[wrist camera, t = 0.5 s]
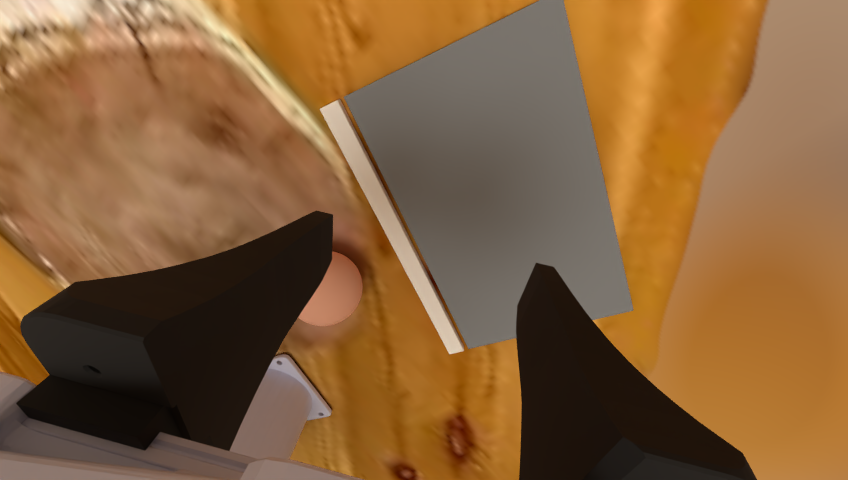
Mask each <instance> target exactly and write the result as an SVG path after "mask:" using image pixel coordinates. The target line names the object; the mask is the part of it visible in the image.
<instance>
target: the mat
mask: <svg viewBox="0 0 848 480" xmlns="http://www.w3.org/2000/svg"><path fill="white" fill-rule="evenodd" d="M344 98H345V100H346V102H347V105H348V107H349V109H350V111H351V113H352V115H353V117H354V119H355V121H356V123H357V125H358V127H359V129H360V131H361V133H362V135H363V137H364V139H365V141H366V143H367V145H368V147H369V149H370V151H371V153H372V155H373V157H374V159H375V161H376V163H377V165H378V167H379V169H380V171H381V173H382V175H383V177H384V179H385V181H386V183H387V185H388V187H389V189H390V191H391V193H392V195H393V197H394V199H395V201H396V203H397V205H398V207H399V209H400V211H401V213H402V215H403V217H404V219H405V222H406V224H407V226H408V228H409V230H410V232H411V234H412V236H413V238H414V240H415V242H416V244H417V246H418V248H419V250H420V252H421V254H422V256H423V258H424V260H425V262H426V264H427V266H428V268H429V270H430V272H431V274H432V276H433V278H434V280H435V282H436V284H437V286H438V288H439V290H440V292H441V294H442V296H443V298H444V300H445V302H446V304H447V306H448V308H449V310H450V312H451V314H452V316H453V318H454V320H455V322H456V324H457V326H458V328H459V330H460V332H461V334H462V336H463V338H464V341H465V343H466V345H467V347H468V349H470V348H475V347H479V346H483V345H488V344H492V343H496V342H500V341H505V340H509V339H513V338H516V318H517V305H518V302H519V300H520V298H521V296H522V293H523V291H524V289H525V286H526V284H527V282H528V280H529V277H530V275H531V273H532V271H533V268H534V266H535V264H536V263H540V264H544V265H548V266H552V267H554V268H555V269H556V270H557V272H558V273H559V275H560V276H561V278H562V279H563V281H564V282H565V283H566V285H567V286H568V288H569V289H570V291H571V292H572V294H573V295H574V296H575V298H576V299H577V301H578V302H579V303H580V305H581V306H582V308H583V309H584V310H585V312H586V313H587V314H588V315H589V317H590V318H591V319H592V320H595V319H599V318H603V317H608V316H612V315H616V314H620V313H625V312H629V311H633V306H632V301H631V297H630V293H629V288H628V284H627V279H626V275H625V271H624V266H623V262H622V257H621V253H620V248H619V244H618V240H617V235H616V231H615V226H614V222H613V217H612V213H611V209H610V204H609V200H608V195H607V191H606V187H605V182H604V178H603V173H602V169H601V164H600V160H599V156H598V151H597V147H596V142H595V138H594V134H593V129H592V125H591V120H590V116H589V111H588V107H587V103H586V98H585V94H584V89H583V85H582V80H581V76H580V72H579V67H578V63H577V58H576V54H575V50H574V45H573V41H572V36H571V32H570V27H569V23H568V19H567V14H566V10H565V5H564V1H563V0H539V1H537V2H535V3H533V4H531V5H529V6H527V7H525V8H523V9H521V10H519V11H517V12H515V13H513V14H511V15H509V16H507V17H505V18H503V19H501V20H499V21H497V22H495V23H493V24H491V25H489V26H487V27H485V28H483V29H481V30H479V31H477V32H475V33H473V34H471V35H468V36H466V37H464V38H462V39H460V40H458V41H456V42H454V43H452V44H450V45H448V46H446V47H444V48H442V49H440V50H438V51H436V52H434V53H432V54H430V55H428V56H426V57H424V58H422V59H420V60H418V61H416V62H414V63H412V64H410V65H408V66H406V67H404V68H402V69H400V70H397V71H395V72H393V73H391V74H389V75H387V76H385V77H383V78H381V79H379V80H377V81H375V82H373V83H371V84H369V85H367V86H365V87H363V88H361V89H359V90H357V91H355V92H353V93H351V94H349V95H347V96H345V97H344ZM320 111H321V113H322V114H323V116H324V118H325V120H326V122H327V124H328V126H329V128H330V130H331V131H332V133H333V135H334V137H335V139H336V141H337V143H338V145H339V147H340V148H341V150H342V152H343V154H344V156H345V158H346V160H347V162H348V164H349V165H350V167H351V169H352V171H353V173H354V175H355V177H356V179H357V181H358V182H359V184H360V186H361V188H362V190H363V192H364V194H365V196H366V198H367V199H368V201H369V203H370V205H371V207H372V209H373V211H374V213H375V215H376V216H377V218H378V220H379V222H380V224H381V226H382V228H383V230H384V232H385V233H386V235H387V237H388V239H389V241H390V243H391V245H392V247H393V248H394V250H395V252H396V254H397V256H398V258H399V260H400V262H401V264H402V265H403V267H404V269H405V271H406V273H407V275H408V277H409V279H410V281H411V282H412V284H413V286H414V288H415V290H416V292H417V294H418V296H419V298H420V299H421V301H422V303H423V305H424V307H425V309H426V311H427V313H428V315H429V316H430V318H431V320H432V322H433V324H434V326H435V328H436V330H437V332H438V333H439V335H440V337H441V339H442V341H443V343H444V345H445V347H446V349H447V350H448V352H449V354H453V353H457V352H462V351H464V345H463V343H462V341H461V339H460V337H459V335H458V334H457V332H456V330H455V328H454V326H453V324H452V322H451V320H450V318H449V316H448V314H447V312H446V310H445V308H444V306H443V304H442V302H441V300H440V298H439V296H438V294H437V292H436V290H435V288H434V286H433V284H432V282H431V280H430V278H429V276H428V274H427V272H426V270H425V268H424V266H423V264H422V262H421V260H420V258H419V256H418V254H417V252H416V250H415V248H414V246H413V244H412V242H411V240H410V238H409V236H408V234H407V232H406V230H405V228H404V226H403V224H402V222H401V220H400V218H399V216H398V214H397V212H396V210H395V208H394V206H393V204H392V202H391V200H390V198H389V196H388V194H387V192H386V190H385V188H384V186H383V184H382V182H381V180H380V178H379V176H378V174H377V172H376V170H375V168H374V166H373V164H372V162H371V160H370V158H369V156H368V154H367V152H366V150H365V148H364V146H363V144H362V142H361V140H360V138H359V136H358V134H357V132H356V130H355V128H354V126H353V124H352V122H351V120H350V118H349V116H348V114H347V112H346V110H345V108H344V106H343V104H342V102H341V100H340V99H339V100H337V101H335V102H332V103H330V104H328V105H326V106H324V107H322V108H320Z"/></svg>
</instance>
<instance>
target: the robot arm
mask: <svg viewBox="0 0 848 480" xmlns="http://www.w3.org/2000/svg"><path fill="white" fill-rule="evenodd" d="M332 237H333V215H332V214H328V213H324V212H320V211H315V212H312V213H310V214H308V215H306V216H304V217H302V218H300V219H298V220H296V221H294V222H292V223H290V224H288V225H286V226H284V227H282V228H279V229H277V230H275V231H273V232H271V233H269V234H267V235H264V236H262V237H260V238H258V239H255V240H253V241H251V242H248V243H246V244H244V245H241V246H238V247H236V248H233V249H230V250H228V251H225V252H222V253H219V254H216V255H213V256H209V257H206V258H203V259H199V260H195V261H191V262H187V263H184V264H180V265H176V266H172V267H168V268H163V269H158V270H154V271H148V272H143V273H137V274H132V275H126V276H119V277H111V278H104V279H96V280H89V281H80V282H75V283H73V284H72V285H70V286H69V287H67V288H66V289H64V290H63V291H61V292H60V293H58V294H57V295H55V296H54V297H52V298H51V299H49V300H48V301H46V302H45V303H43V304H42V305H40V306H39V307H37V308H36V309H34V310H33V311H31V312H30V313H28V314H27V315H25V316H24V317H23V319H22V321H21V332H22V336H23V337H24V339H25V341H26V343H27V344H28V346H29V347H30V348H31V350H32V351H33V352H34V354H35V355H36V357H37V358H38V359H39V361H40V362H41V363H42V365H43V366H44V368H45V369H46V370H47V372H48V373H49V374H50V375H49V376H48V377H47V378H46V379H45V380H43V381H42V382H41V383H40V384H39V385H37V386H36V385H35V384H34V383H32V382H30V381H29V380H27V379H24V378H22V377H18V376H15V375H11V374H7V373H4V372H0V480H363V479H360V478H356V477H352V476H349V475H345V474H342V473H338V472H334V471H331V470H327V469H323V468H320V467H316V466H313V465H309V464H305V463H302V462H298V461H294V460H289V459H290V457H291V455H292V453H293V450H294V448H295V446H296V443H297V441H298V439H299V436H300V434H301V432H302V430H303V427H304V425H305V423H306V421H308V420H313V419H318V418H323V417H328V416H330V415H331V412H332V410H331V408H330V407H329V406H328V405H327V403H326V402H325V401H324V399H323V398H322V397H321V396H320V394H319V393H318V392H317V391H316V389H315V388H314V387H313V385H312V384H311V383H310V382H309V380H308V379H307V378H306V376H305V375H304V374H303V373H302V371H301V370H300V369H299V368H298V366H297V365H296V364H295V362H294V361H293V360H292V359H291V357H290V356H289V355H286V354H282V355H279V356H275V354H276V352H277V351H278V349H279V347H280V345H281V343H282V341H283V340H284V338H285V336H286V335H287V333H288V331H289V330H290V328H291V327H292V325H293V324H294V322H295V321H296V319H297V318H298V317H299V315H300V314H301V312H302V311H303V309H304V308H305V306H306V305H307V303H308V302H309V300H310V299H311V297H312V296H313V294H314V293H315V291H316V290H317V288H318V287H319V285H320V284H321V282H322V280H323V278H324V276H325V274H326V272H327V270H328V268H329V266H330V263H331V261H332ZM516 338H517V350H518V361H519V371H520V382H521V397H522V422H521V455H520V475H519V480H757V479H756V477H755V475H754V473H753V471H752V469H751V468H750V466H749V464H748V462H747V460H746V458H745V457H744V455H743V453H742V452H740V451H739V450H737V449H736V448H735V447H733V446H732V445H731V444H729V443H728V442H726V441H725V440H724V439H722V438H721V437H719V436H718V435H717V434H715V433H714V432H712V431H711V430H709V429H708V428H707V427H705V426H704V425H703V424H701V423H700V422H698V421H697V420H696V419H694V418H693V417H692V416H691V415H689V414H688V413H687V412H686V411H684V410H683V409H682V408H681V407H679V406H678V405H677V404H675V403H674V402H673V401H672V400H671V399H670V398H668V397H667V396H666V395H665V394H663V393H662V392H661V391H660V390H659V389H657V387H655V386H654V385H653V384H652V383H651V382H650V381H649V380H648V379H647V378H646V377H645V376H643V375H642V374H641V373H640V372H639V371H638V370H637V369H636V368H635V367H634V366H633V365H632V364H631V363H630V362H629V361H628V360H627V359H626V358H625V357H624V356H623V355H622V354H621V353H620V352H619V351H618V350H617V349H616V348H615V347H614V345H613V344H612V343H611V342H610V341H609V340H608V339H607V338H606V336H605V335H604V334H603V333H602V332H601V330H600V329H599V328H598V327H597V326H596V324H595V323H594V322H593V321H592V319H591V318H590V317H589V315H588V314H587V313H586V312H585V310H584V309H583V308H582V306H581V305H580V303H579V302H578V301H577V299H576V298H575V296H574V295H573V294H572V292H571V291H570V289H569V288H568V286H567V285H566V283H565V282H564V281H563V279H562V278H561V276H560V275H559V273H558V272H557V270H556V269H555V268H554V267H552V266H548V265H544V264H540V263H536V264H535V266H534V268H533V271H532V273H531V275H530V277H529V280H528V282H527V284H526V286H525V289H524V291H523V293H522V296H521V298H520V300H519V302H518V305H517V318H516ZM274 356H275V357H274Z"/></svg>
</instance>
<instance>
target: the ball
mask: <svg viewBox="0 0 848 480" xmlns="http://www.w3.org/2000/svg"><path fill="white" fill-rule="evenodd" d="M362 289H363V284H362V278H361V275H360V272H359V270H358V268H357V267H356V265H355V264H354V263H353V262H352V261H351V260H350V259H349V258H347V257H346V256H344V255H342V254H340V253H337V252H333V251H332V261H331V263H330V266H329V268H328V270H327V272H326V274H325V276H324V278H323V280H322V282H321V284H320V285H319V287H318V288H317V290H316V291H315V293H314V294H313V296H312V297H311V299H310V300H309V302H308V303H307V305H306V306H305V308H304V309H303V311H302V312H301V314H300V315H299V317H298V318H299V319H301V320H302V321H304V322H306V323H309V324H311V325H316V326H329V325H333V324H337V323H339V322H341V321H343V320H345V319H346V318H347V317H349V316H350V315H351V314H352V313H353V312H354V310H355V309H356V308H357V306H358V304H359V302H360V299H361V296H362Z"/></svg>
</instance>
